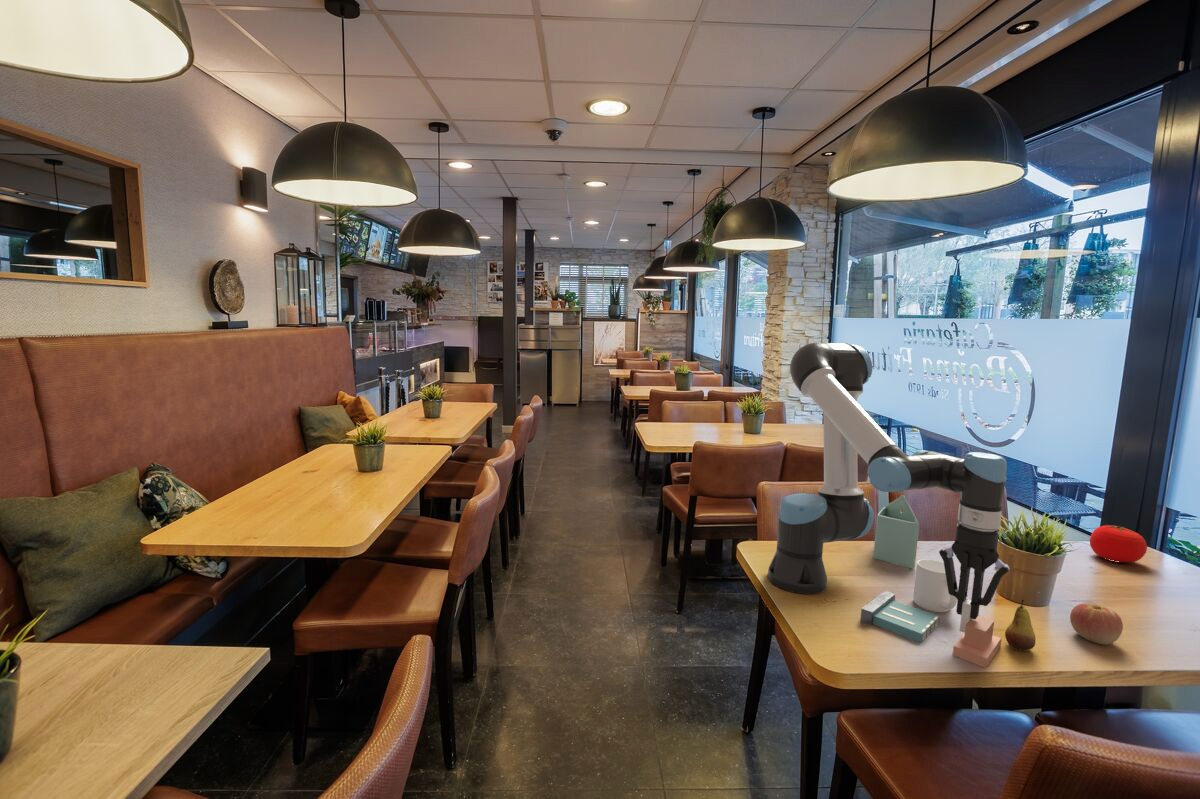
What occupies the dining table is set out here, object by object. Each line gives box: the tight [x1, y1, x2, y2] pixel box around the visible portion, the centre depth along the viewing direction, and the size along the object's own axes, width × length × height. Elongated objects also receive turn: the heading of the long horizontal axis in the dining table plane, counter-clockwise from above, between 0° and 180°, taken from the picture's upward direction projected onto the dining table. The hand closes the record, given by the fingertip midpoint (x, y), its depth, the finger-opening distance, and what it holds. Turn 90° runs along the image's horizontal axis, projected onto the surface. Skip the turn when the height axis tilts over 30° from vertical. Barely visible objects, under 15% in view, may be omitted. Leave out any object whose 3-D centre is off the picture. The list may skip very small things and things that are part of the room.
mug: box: [913, 559, 958, 613], centre depth 139 cm, size 12×8×10 cm
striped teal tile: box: [872, 600, 940, 643], centre depth 133 cm, size 13×12×2 cm
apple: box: [1069, 603, 1124, 646], centre depth 127 cm, size 9×9×8 cm
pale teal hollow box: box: [872, 494, 920, 570], centre depth 171 cm, size 16×8×20 cm, turn 6°
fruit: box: [1004, 599, 1036, 651], centre depth 122 cm, size 6×6×12 cm
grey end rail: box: [859, 590, 896, 626], centre depth 136 cm, size 2×14×3 cm, turn 133°
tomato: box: [1089, 523, 1148, 563], centre depth 175 cm, size 12×13×11 cm
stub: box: [952, 614, 1002, 668], centre depth 121 cm, size 6×12×6 cm, turn 133°
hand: (965, 630), depth 123 cm, fingers closed
